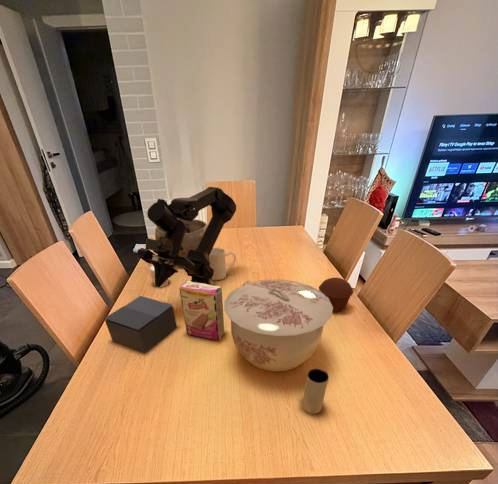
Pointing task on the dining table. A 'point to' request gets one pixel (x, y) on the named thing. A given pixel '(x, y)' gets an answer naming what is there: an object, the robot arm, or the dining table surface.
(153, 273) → the shot glass
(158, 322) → the carton
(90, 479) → the dining table surface
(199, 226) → the bowl
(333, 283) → the muffin
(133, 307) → the flap
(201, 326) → the candy bar box
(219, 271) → the mug
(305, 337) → the chamber pot
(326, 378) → the grey black-topped cylinder
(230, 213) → the robot arm
